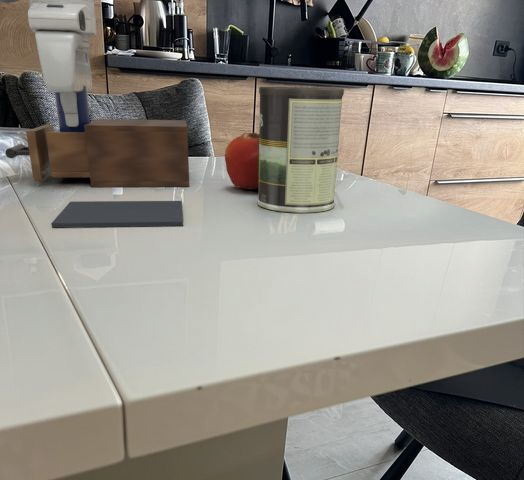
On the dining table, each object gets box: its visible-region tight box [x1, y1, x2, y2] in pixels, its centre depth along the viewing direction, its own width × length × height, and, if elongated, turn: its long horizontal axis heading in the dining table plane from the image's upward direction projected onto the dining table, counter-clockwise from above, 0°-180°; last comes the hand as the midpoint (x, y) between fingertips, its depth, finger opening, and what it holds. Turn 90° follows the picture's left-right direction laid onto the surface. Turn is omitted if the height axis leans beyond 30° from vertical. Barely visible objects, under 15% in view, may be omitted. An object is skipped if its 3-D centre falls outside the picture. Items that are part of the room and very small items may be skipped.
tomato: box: [224, 132, 259, 191], centre depth 81 cm, size 9×9×8 cm
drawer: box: [4, 124, 90, 181], centre depth 86 cm, size 18×13×7 cm
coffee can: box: [257, 86, 345, 214], centre depth 69 cm, size 10×10×14 cm
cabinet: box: [84, 118, 190, 188], centre depth 87 cm, size 15×15×9 cm
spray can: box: [54, 86, 91, 132], centre depth 84 cm, size 5×5×13 cm
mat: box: [50, 200, 184, 229], centre depth 65 cm, size 14×12×1 cm
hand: (76, 125), depth 84 cm, fingers closed on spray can, 4 cm apart
